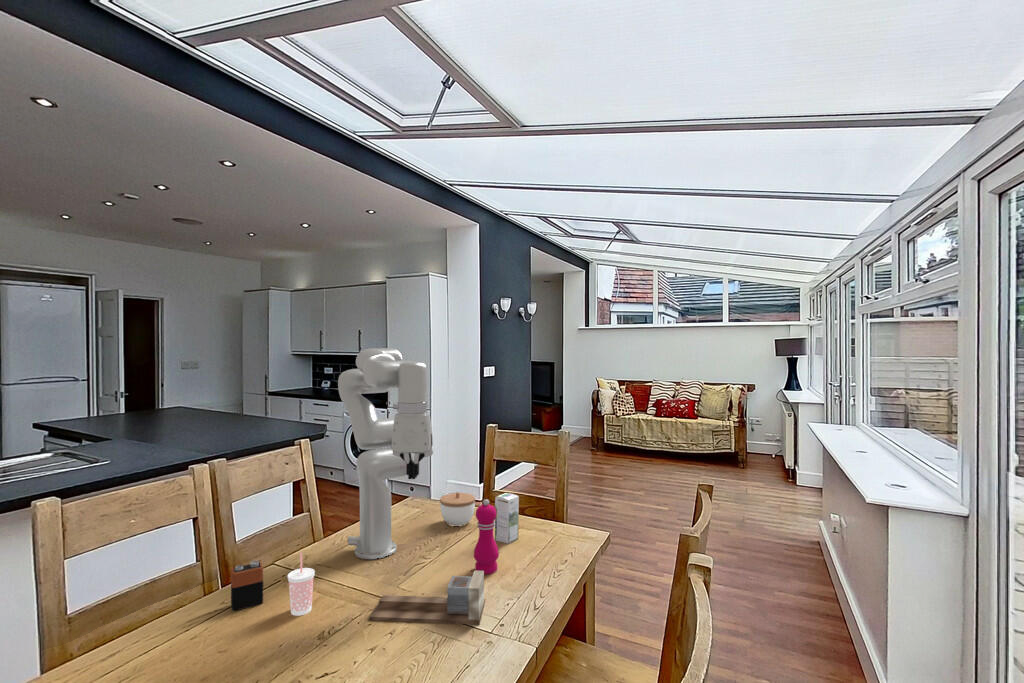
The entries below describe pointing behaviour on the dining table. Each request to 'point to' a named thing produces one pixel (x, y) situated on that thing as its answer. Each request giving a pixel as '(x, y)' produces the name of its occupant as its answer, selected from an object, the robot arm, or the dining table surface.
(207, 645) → the dining table surface
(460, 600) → the block
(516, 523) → the syrup box
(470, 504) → the lidded bowl
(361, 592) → the dining table surface
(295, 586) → the beverage cup
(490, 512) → the pepper mill
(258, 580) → the battery
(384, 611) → the rail
